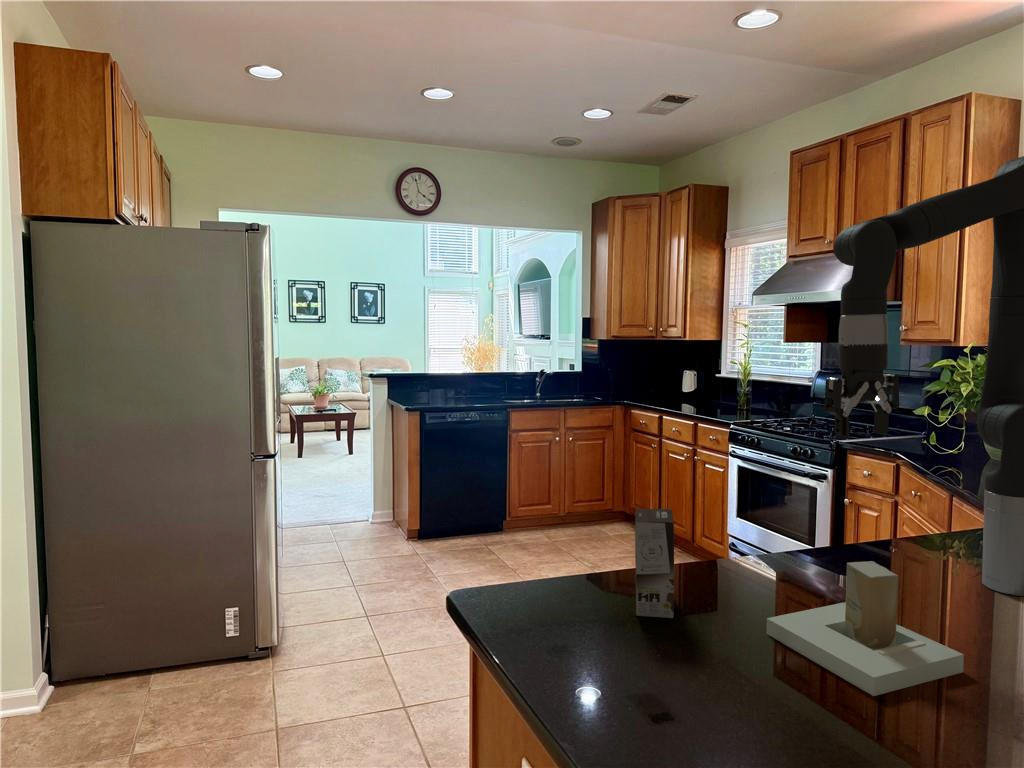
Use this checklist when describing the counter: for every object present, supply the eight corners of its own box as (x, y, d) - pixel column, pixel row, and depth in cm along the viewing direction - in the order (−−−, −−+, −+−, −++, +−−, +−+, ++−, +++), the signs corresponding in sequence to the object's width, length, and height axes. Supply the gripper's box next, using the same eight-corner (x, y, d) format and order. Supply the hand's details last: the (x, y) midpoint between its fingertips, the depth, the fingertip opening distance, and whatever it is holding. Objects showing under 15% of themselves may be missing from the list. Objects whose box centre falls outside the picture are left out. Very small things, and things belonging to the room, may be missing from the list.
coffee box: (675, 618, 115) (674, 522, 114) (635, 616, 116) (634, 521, 115) (673, 597, 124) (673, 508, 123) (636, 595, 125) (635, 507, 124)
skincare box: (843, 640, 106) (844, 561, 105) (870, 638, 106) (871, 559, 105) (869, 660, 99) (870, 576, 98) (897, 658, 100) (899, 574, 99)
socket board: (846, 616, 114) (847, 600, 114) (963, 672, 95) (963, 653, 95) (766, 633, 109) (766, 617, 108) (873, 696, 90) (873, 675, 90)
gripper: (876, 340, 125) (875, 430, 127) (813, 342, 120) (812, 436, 122) (913, 340, 118) (911, 436, 120) (848, 343, 113) (846, 442, 115)
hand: (861, 436), depth 121 cm, fingers open, 8 cm apart
